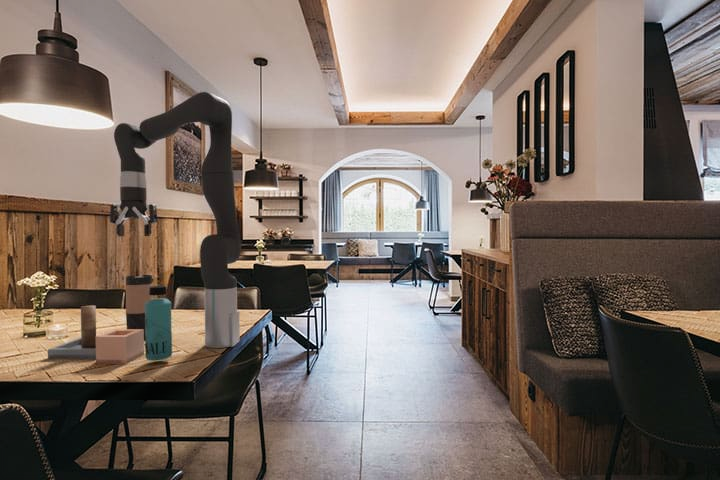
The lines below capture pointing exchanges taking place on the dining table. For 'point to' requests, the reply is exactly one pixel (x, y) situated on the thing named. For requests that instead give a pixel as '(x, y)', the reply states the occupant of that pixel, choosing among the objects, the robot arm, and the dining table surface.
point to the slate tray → (71, 351)
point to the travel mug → (137, 300)
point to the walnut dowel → (88, 326)
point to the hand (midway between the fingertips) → (134, 236)
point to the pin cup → (119, 346)
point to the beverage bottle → (158, 326)
